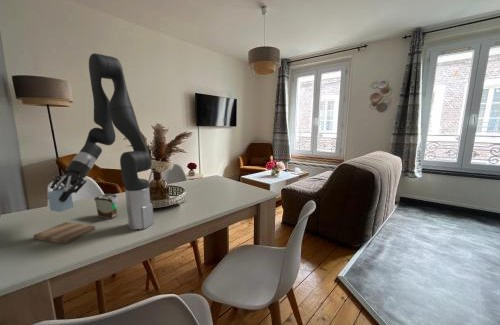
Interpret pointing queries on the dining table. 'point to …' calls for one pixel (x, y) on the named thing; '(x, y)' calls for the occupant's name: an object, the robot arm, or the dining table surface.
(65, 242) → the walnut board
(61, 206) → the slate block
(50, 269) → the dining table surface
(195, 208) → the dining table surface
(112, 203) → the food container
